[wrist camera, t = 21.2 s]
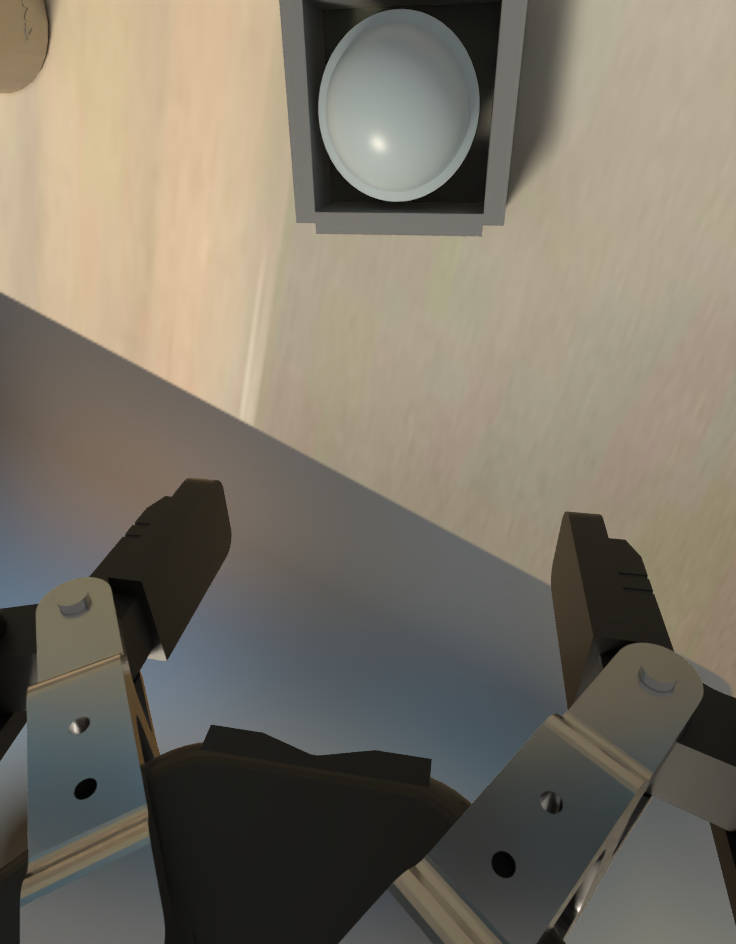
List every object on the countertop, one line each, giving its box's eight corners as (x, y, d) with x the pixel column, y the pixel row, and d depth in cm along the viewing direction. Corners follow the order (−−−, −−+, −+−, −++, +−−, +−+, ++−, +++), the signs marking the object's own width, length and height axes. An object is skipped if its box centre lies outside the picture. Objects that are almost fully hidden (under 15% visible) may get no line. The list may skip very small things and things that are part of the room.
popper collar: (315, 220, 39) (297, 233, 35) (301, -17, 32) (276, -33, 28) (500, 223, 37) (502, 236, 33) (526, -29, 30) (532, -48, 26)
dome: (337, 192, 36) (306, 211, 30) (330, 22, 32) (291, 1, 25) (473, 193, 35) (470, 212, 29) (486, 15, 30) (487, -9, 24)
